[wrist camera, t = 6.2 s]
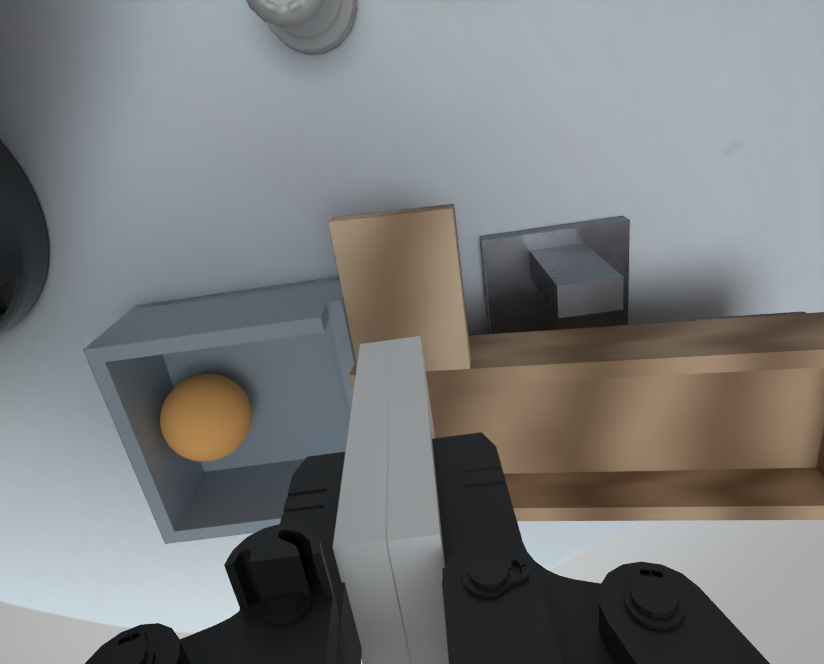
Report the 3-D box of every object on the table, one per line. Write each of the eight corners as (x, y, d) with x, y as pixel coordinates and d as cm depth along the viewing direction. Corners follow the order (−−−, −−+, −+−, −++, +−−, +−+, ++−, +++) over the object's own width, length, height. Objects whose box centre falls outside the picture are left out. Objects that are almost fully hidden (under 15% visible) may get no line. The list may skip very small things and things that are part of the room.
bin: (199, 477, 38) (165, 543, 32) (136, 305, 33) (83, 350, 27) (382, 453, 37) (379, 517, 32) (347, 275, 32) (337, 314, 27)
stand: (500, 453, 38) (521, 529, 31) (480, 236, 32) (500, 275, 25) (620, 438, 37) (665, 511, 31) (622, 215, 31) (680, 249, 25)
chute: (844, 133, 24) (952, 153, 18) (795, 434, 30) (863, 519, 25) (353, 191, 28) (316, 223, 22) (399, 446, 34) (379, 521, 29)
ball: (157, 469, 33) (217, 488, 30) (128, 396, 31) (189, 410, 28) (220, 423, 37) (278, 436, 34) (198, 355, 35) (257, 364, 32)
